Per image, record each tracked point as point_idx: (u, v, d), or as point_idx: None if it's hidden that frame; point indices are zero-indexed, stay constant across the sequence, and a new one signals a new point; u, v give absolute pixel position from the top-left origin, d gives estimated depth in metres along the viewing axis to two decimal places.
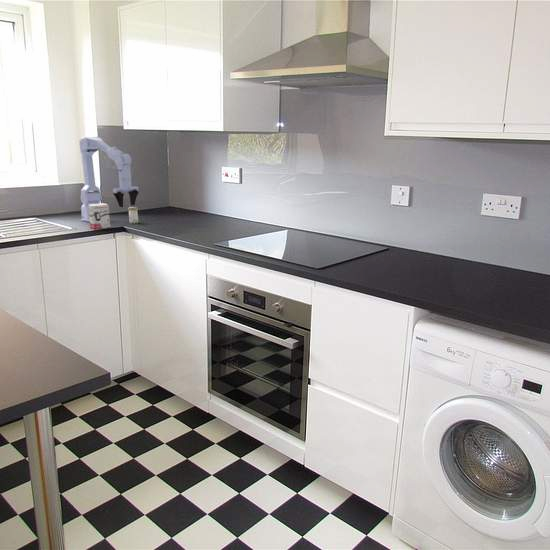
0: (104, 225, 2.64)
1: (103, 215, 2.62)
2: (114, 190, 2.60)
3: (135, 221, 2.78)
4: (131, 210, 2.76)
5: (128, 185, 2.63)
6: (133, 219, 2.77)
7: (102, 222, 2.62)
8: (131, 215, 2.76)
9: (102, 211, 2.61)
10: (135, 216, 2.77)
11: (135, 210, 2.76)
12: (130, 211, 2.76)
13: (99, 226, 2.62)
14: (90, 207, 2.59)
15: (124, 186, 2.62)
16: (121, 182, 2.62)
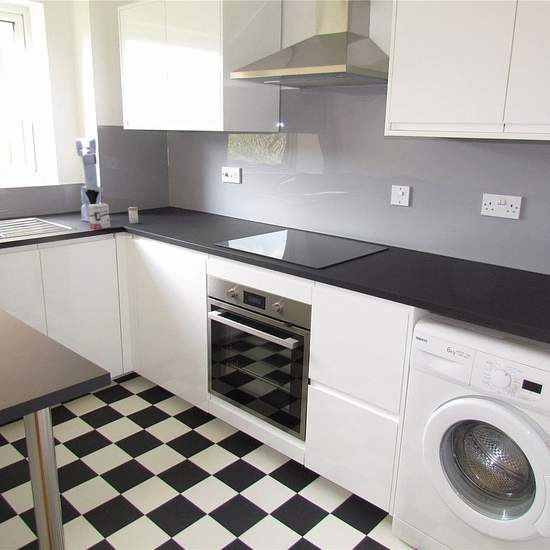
0: (104, 225, 2.64)
1: (103, 215, 2.62)
2: None
3: (135, 221, 2.78)
4: (131, 210, 2.76)
5: (86, 184, 2.63)
6: (133, 219, 2.77)
7: (102, 222, 2.62)
8: (131, 215, 2.76)
9: (102, 211, 2.61)
10: (135, 216, 2.77)
11: (135, 210, 2.76)
12: (130, 211, 2.76)
13: (99, 226, 2.62)
14: (90, 207, 2.59)
15: None
16: None
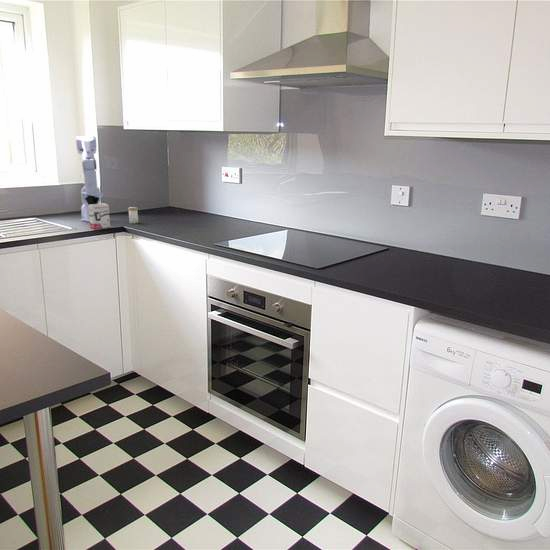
0: (104, 225, 2.63)
1: (103, 215, 2.62)
2: None
3: (135, 221, 2.78)
4: (131, 210, 2.76)
5: (86, 190, 2.60)
6: (133, 219, 2.77)
7: (102, 222, 2.62)
8: (131, 215, 2.76)
9: (102, 211, 2.61)
10: (135, 216, 2.77)
11: (135, 210, 2.76)
12: (130, 211, 2.76)
13: (99, 226, 2.62)
14: (90, 207, 2.59)
15: None
16: None
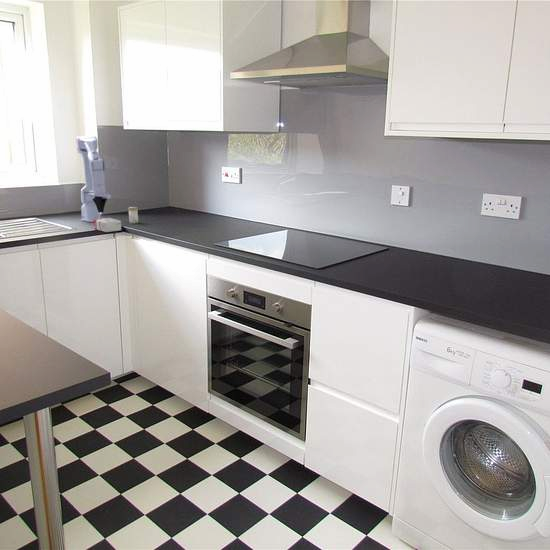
0: None
1: None
2: None
3: (135, 221, 2.78)
4: (131, 210, 2.76)
5: (93, 191, 2.57)
6: (133, 219, 2.77)
7: None
8: (131, 215, 2.76)
9: None
10: (135, 216, 2.77)
11: (135, 210, 2.76)
12: (130, 211, 2.76)
13: None
14: (104, 227, 2.52)
15: None
16: None
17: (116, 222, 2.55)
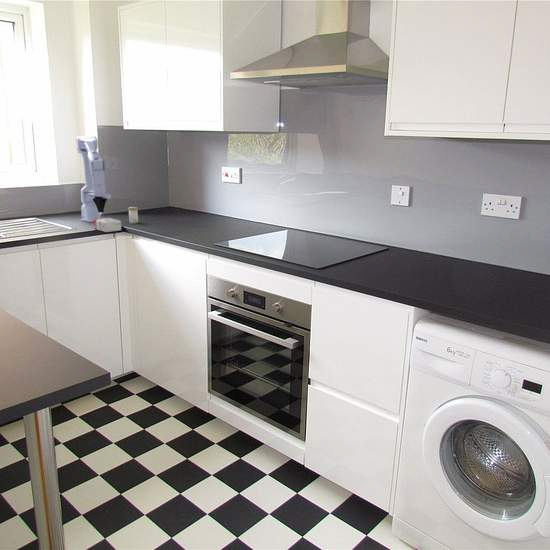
0: None
1: None
2: None
3: (135, 221, 2.78)
4: (131, 210, 2.76)
5: (93, 191, 2.57)
6: (133, 219, 2.77)
7: None
8: (131, 215, 2.76)
9: None
10: (135, 216, 2.77)
11: (135, 210, 2.76)
12: (130, 211, 2.76)
13: None
14: (104, 227, 2.52)
15: None
16: None
17: (116, 222, 2.55)
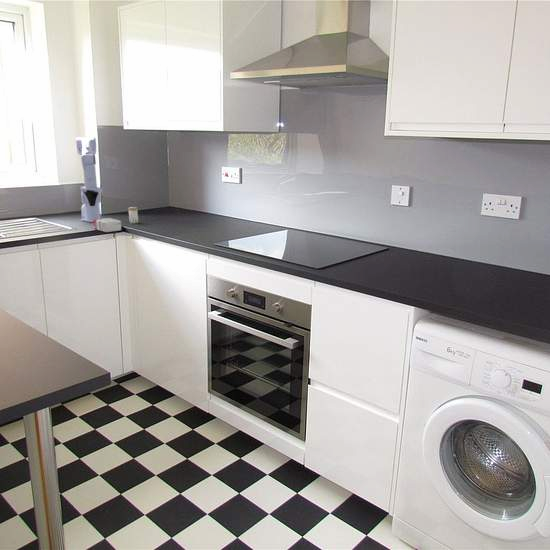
0: None
1: None
2: None
3: (135, 221, 2.78)
4: (131, 210, 2.76)
5: (85, 185, 2.61)
6: (133, 219, 2.77)
7: None
8: (131, 215, 2.76)
9: None
10: (135, 216, 2.77)
11: (135, 210, 2.76)
12: (130, 211, 2.76)
13: None
14: (104, 227, 2.52)
15: None
16: None
17: (116, 222, 2.55)
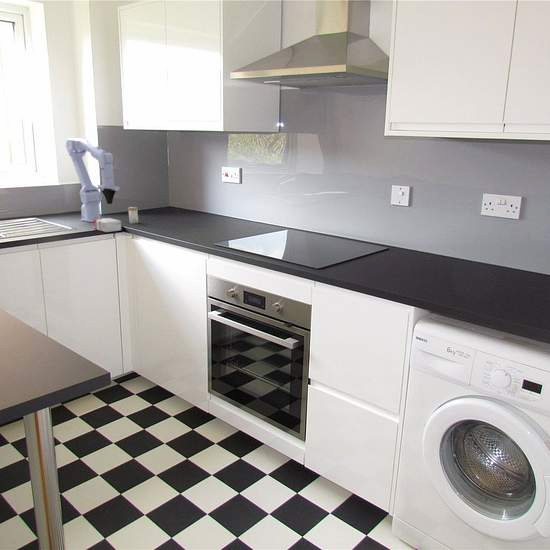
0: None
1: None
2: None
3: (135, 221, 2.78)
4: (131, 210, 2.76)
5: (103, 183, 2.69)
6: (133, 219, 2.77)
7: None
8: (131, 215, 2.76)
9: None
10: (135, 216, 2.77)
11: (135, 210, 2.76)
12: (130, 211, 2.76)
13: None
14: (104, 227, 2.52)
15: None
16: None
17: (116, 222, 2.55)
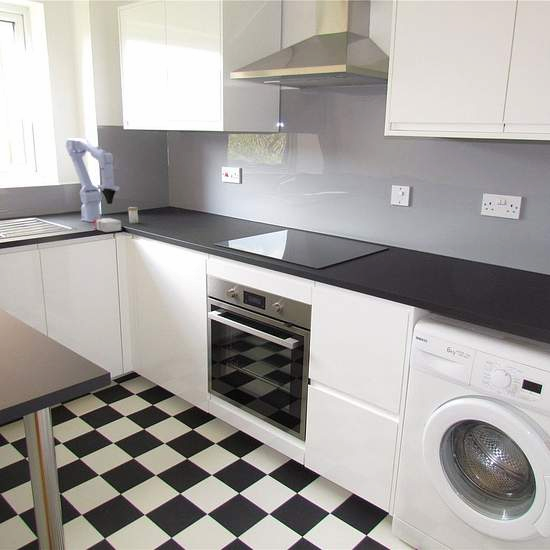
0: None
1: None
2: None
3: (135, 221, 2.78)
4: (131, 210, 2.76)
5: (103, 183, 2.69)
6: (133, 219, 2.77)
7: None
8: (131, 215, 2.76)
9: None
10: (135, 216, 2.77)
11: (135, 210, 2.76)
12: (130, 211, 2.76)
13: None
14: (104, 227, 2.52)
15: None
16: None
17: (116, 222, 2.55)
